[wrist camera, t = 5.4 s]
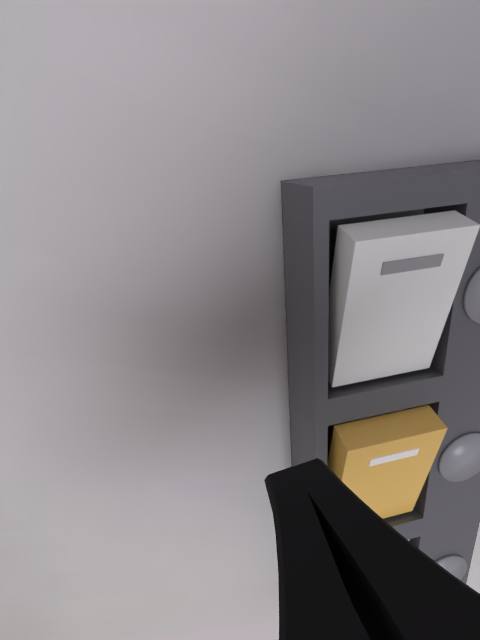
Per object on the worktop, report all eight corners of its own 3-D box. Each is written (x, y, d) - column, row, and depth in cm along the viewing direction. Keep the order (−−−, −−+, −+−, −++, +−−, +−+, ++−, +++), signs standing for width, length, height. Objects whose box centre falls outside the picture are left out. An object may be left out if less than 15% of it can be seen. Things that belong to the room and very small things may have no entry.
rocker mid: (428, 405, 19) (448, 429, 18) (398, 487, 23) (413, 512, 22) (334, 425, 18) (348, 452, 17) (320, 507, 22) (331, 534, 21)
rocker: (455, 210, 15) (482, 225, 14) (412, 348, 20) (430, 368, 18) (337, 225, 14) (356, 242, 13) (319, 366, 19) (332, 388, 18)
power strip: (487, 159, 18) (563, 160, 15) (420, 600, 31) (453, 654, 28) (281, 180, 17) (315, 187, 13) (298, 638, 29) (318, 700, 26)
